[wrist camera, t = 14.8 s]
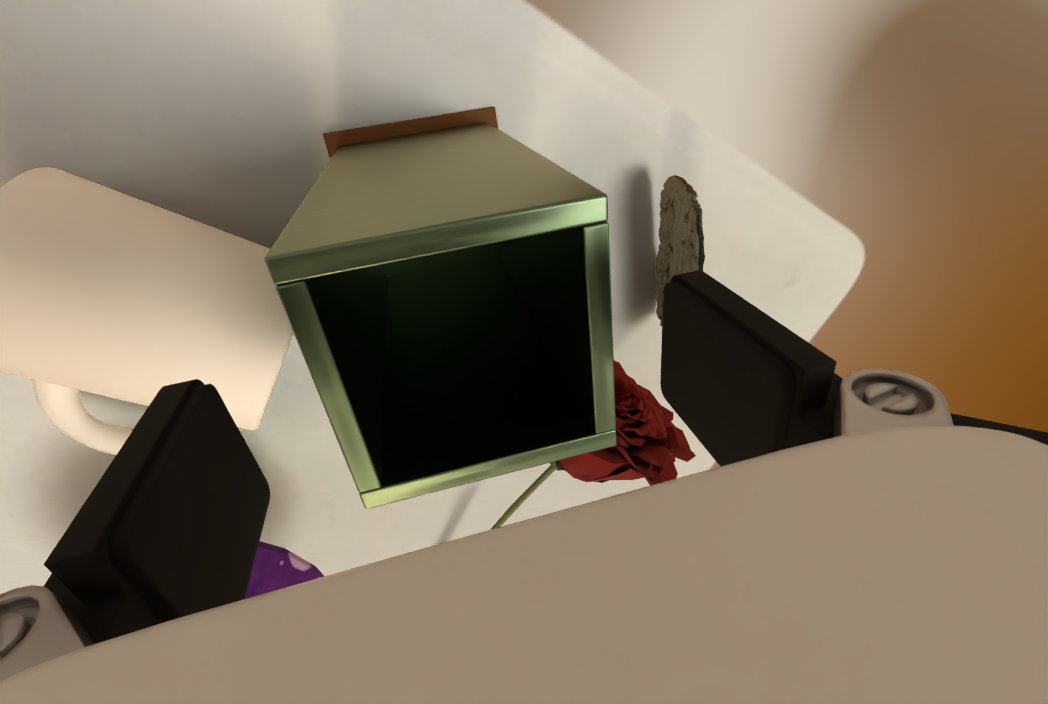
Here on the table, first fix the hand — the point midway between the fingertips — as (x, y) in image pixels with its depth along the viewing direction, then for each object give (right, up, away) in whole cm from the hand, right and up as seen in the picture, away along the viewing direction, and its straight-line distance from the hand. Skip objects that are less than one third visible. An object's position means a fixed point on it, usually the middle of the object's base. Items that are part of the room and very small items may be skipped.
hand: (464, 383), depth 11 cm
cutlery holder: (-4, +8, +15) cm, 17 cm away
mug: (-16, +3, +15) cm, 22 cm away
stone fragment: (+9, +7, +19) cm, 22 cm away
